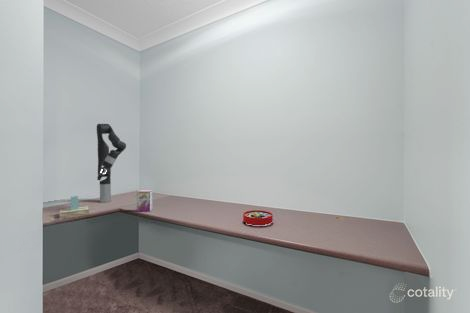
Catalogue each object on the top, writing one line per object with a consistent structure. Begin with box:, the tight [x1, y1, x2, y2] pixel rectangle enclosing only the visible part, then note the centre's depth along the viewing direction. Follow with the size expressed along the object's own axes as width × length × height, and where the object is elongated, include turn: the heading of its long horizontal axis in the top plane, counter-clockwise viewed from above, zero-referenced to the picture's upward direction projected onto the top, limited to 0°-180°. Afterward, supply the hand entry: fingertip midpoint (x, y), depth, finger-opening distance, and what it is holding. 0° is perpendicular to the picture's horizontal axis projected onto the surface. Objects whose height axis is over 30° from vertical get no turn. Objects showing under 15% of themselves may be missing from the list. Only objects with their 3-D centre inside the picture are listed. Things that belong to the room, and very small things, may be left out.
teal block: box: [70, 195, 79, 210], centre depth 177 cm, size 4×4×10 cm
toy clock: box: [242, 209, 274, 225], centre depth 157 cm, size 20×6×20 cm
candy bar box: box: [136, 189, 153, 212], centre depth 188 cm, size 11×5×16 cm, turn 84°
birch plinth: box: [59, 205, 90, 219], centre depth 177 cm, size 14×18×4 cm
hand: (98, 179), depth 191 cm, fingers open, 8 cm apart
